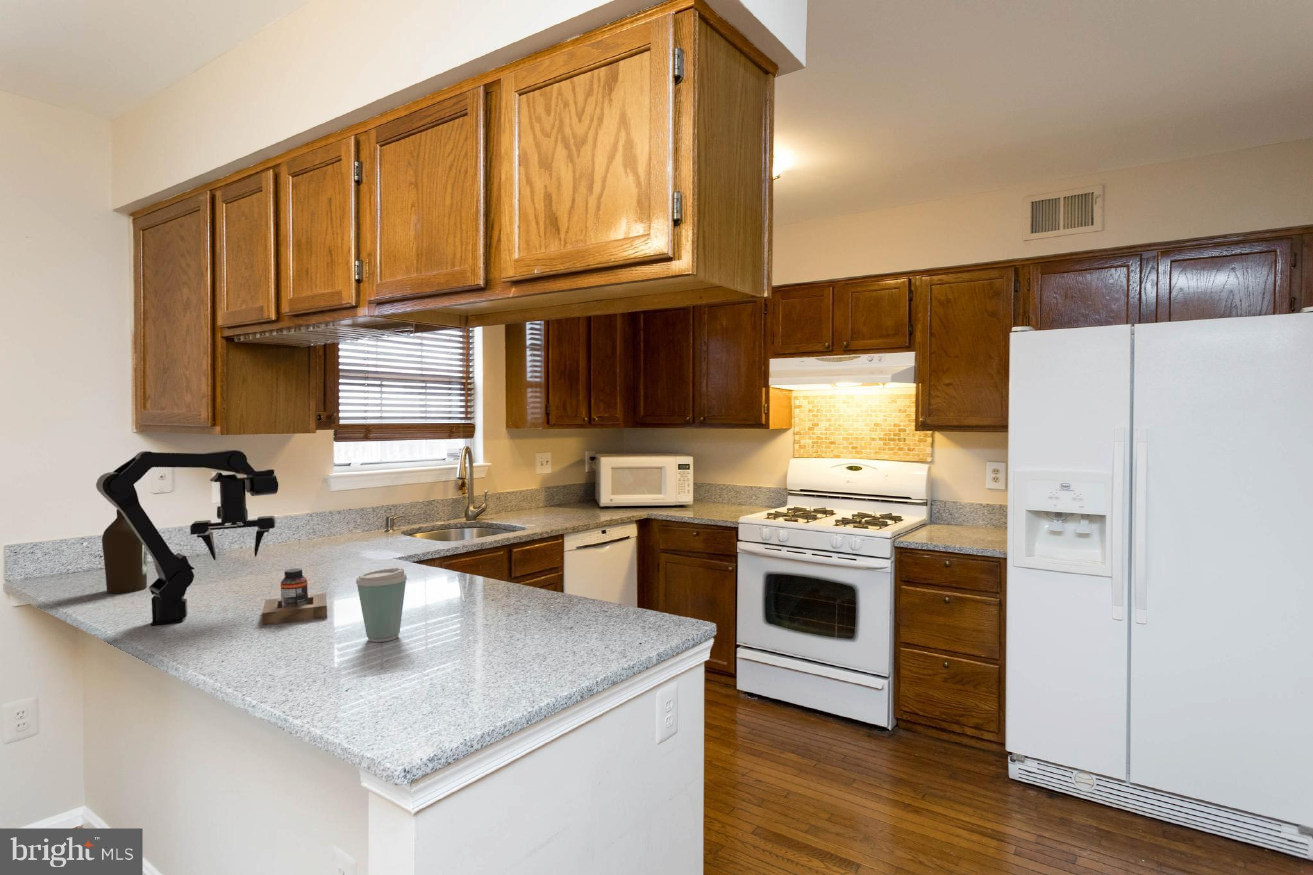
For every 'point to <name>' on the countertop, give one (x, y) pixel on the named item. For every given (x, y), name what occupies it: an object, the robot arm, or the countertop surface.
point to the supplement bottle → (294, 588)
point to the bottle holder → (294, 610)
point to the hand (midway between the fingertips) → (235, 557)
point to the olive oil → (123, 558)
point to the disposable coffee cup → (382, 602)
